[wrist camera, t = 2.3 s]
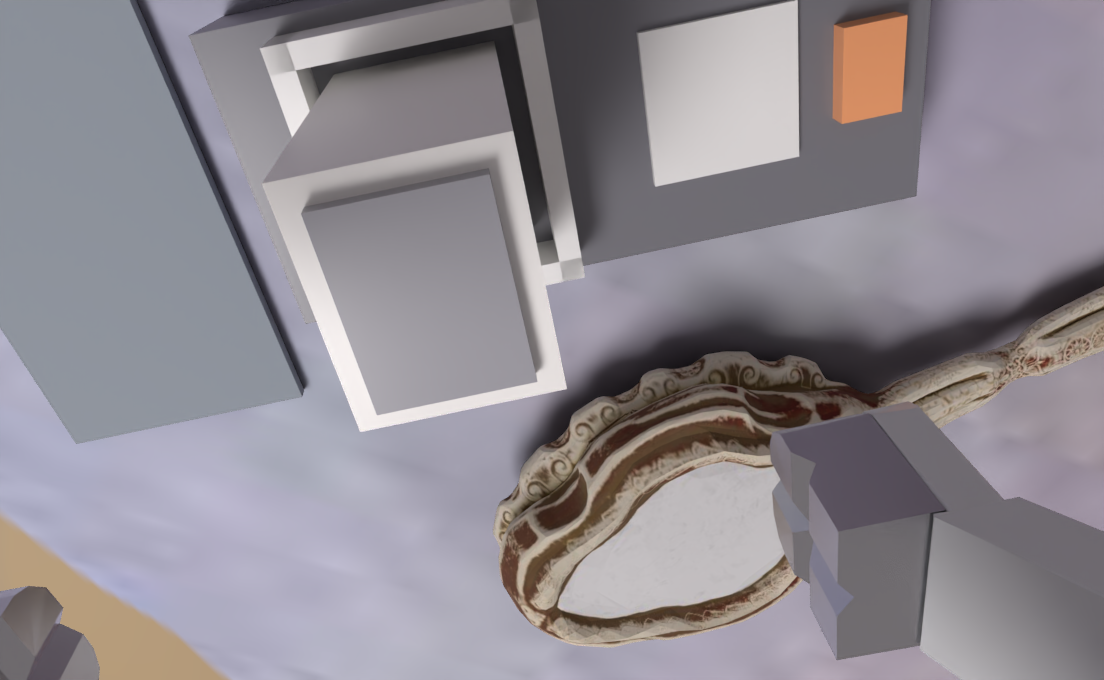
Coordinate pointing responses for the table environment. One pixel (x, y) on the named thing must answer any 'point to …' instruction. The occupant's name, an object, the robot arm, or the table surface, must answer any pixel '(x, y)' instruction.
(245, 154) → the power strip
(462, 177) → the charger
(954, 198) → the table surface
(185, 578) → the table surface
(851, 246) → the table surface
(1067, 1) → the table surface
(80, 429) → the slate mat
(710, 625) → the hand mirror
